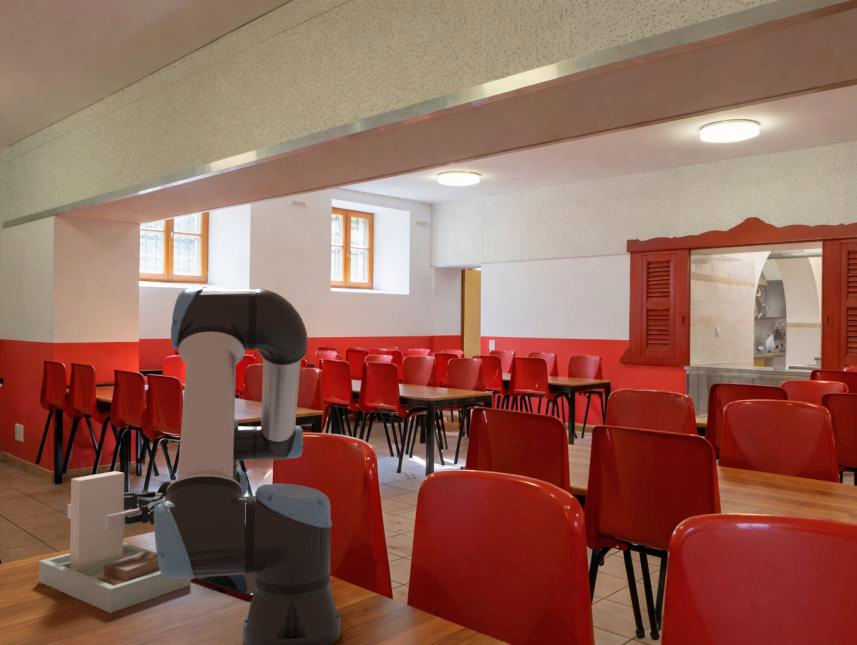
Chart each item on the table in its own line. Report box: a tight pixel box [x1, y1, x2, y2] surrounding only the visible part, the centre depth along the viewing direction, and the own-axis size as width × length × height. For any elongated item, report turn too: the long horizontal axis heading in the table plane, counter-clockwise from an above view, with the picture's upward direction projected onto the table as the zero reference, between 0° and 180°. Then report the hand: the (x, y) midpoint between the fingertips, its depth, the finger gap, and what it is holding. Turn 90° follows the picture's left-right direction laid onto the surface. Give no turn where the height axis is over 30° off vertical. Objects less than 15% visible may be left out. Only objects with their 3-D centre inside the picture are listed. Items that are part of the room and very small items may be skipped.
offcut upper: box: [104, 551, 159, 582], centre depth 131 cm, size 6×9×2 cm, turn 153°
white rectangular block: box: [69, 470, 125, 569], centre depth 138 cm, size 3×9×18 cm, turn 145°
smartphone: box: [191, 572, 255, 601], centre depth 139 cm, size 12×2×25 cm
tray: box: [38, 541, 192, 614], centre depth 134 cm, size 24×16×4 cm, turn 55°
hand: (86, 517), depth 136 cm, fingers open, 13 cm apart
